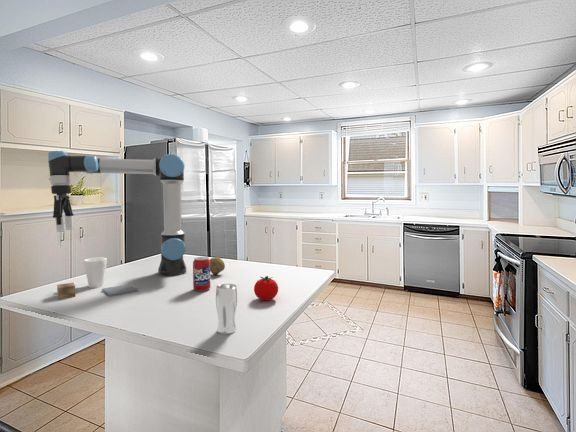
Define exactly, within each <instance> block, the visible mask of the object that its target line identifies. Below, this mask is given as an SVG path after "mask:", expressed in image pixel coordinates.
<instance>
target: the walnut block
mask: <svg viewBox="0 0 576 432" xmlns="http://www.w3.org/2000/svg"><path fill="white" fill-rule="evenodd" d="M56 288H57V289H56V290H57V291H56V292H57V293H56V294H57V298H58V300H63V299H70V298H75V297H76V285H75V283H74V282H68V283H62V284H57V285H56Z"/></svg>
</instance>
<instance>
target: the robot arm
mask: <svg viewBox="0 0 576 432" xmlns="http://www.w3.org/2000/svg"><path fill="white" fill-rule="evenodd" d="M47 155H48V159H47V160H48V161H47V162H48V167H49V168H48V169H49V178H48V180H49V181H50V185H51V186H50V188H51V189H50V192H51V194H52V195H54V196H53V203H54V204H53V213H52V219H53V218H54V219H55V227H56V233H65V230H66V231H69V230H73V229H74V227H73V217H74V215H75V214H74V213H73V209H72V205H71V201H70V195H67V194H71V193H72V190H71V189H72V188H71V176H70V173H85V174H125V175H126V174H135V175H137V174H139V175H154V176H155V177H159V181H160V183H161V184H162V189H163V191H162V192H163V193H162V195H163V197H162V198H163V231H162V232H161V234H160V256H161V257H160V259H161V260H160V262H159V266H158V269H157V274H158V275H159V276H165V277H166V276H170V277H171V276H180V275H183V274H185V273H187V266H186V263H185V260H184V255H185V253H186V250H187V249H186V238H185V235H186V233H185V231H183V229H182V186H181V185H182V183H184V181H185V180H184V179H185V176H184V170H185V163H184V160H183V158H182V157H181V156H179V155H177V154H175V153H168V154H165V155H163V156H162V157H154V158H153V159H138V158H137V159H131V158H129V159H127V158H125V159H124V158H101V157H99V158H98V157H97V156H96V155H89V154H88V155H69V154H68V152H67V151H64V150H51V151H48V154H47ZM63 214H64V217H63ZM64 222H65V223H64ZM64 224H65V225H64Z"/></svg>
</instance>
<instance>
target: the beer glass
mask: <svg viewBox="0 0 576 432" xmlns="http://www.w3.org/2000/svg"><path fill="white" fill-rule="evenodd" d="M215 305H216V313H217V317H218V318H217V319H218V325H217V331H216V332H217V333H218V334H220V335H230V334H233V333H235V332H236V330H237V328H236V322H235V319H236V318H235V317H236V313H237V305H238V291H237V285H236V284H234V283H222V284H221V283H220V284H218V285H216V288H215Z"/></svg>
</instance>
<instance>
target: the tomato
mask: <svg viewBox="0 0 576 432" xmlns="http://www.w3.org/2000/svg"><path fill="white" fill-rule="evenodd" d="M273 278H274V277H273V276H272V277H269V275H266V276H264V277H263V276H260V279H258V280H257V281H256V282H255V283H254V286H253V291H254V294H255V296H256V297H257V298H258V299H260V300H262V301H270V300H272V299H274V298H276V297H277V295H278V292H279V286H278V283H277V282H276V280H274V279H273Z"/></svg>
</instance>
